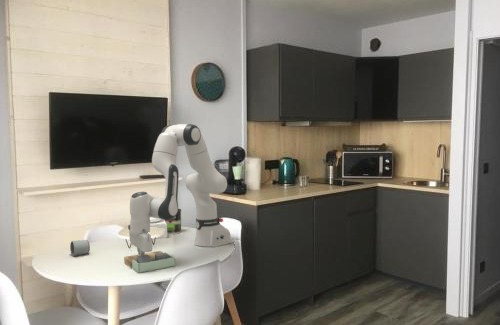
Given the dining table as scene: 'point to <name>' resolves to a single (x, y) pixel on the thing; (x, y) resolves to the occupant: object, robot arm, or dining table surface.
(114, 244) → the dining table surface
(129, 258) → the board
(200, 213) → the robot arm
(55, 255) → the dining table surface
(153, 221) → the butter dish
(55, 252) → the dining table surface
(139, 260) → the tile
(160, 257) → the tile
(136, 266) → the tray
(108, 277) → the dining table surface
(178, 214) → the coffee can
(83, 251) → the ceramic mug
